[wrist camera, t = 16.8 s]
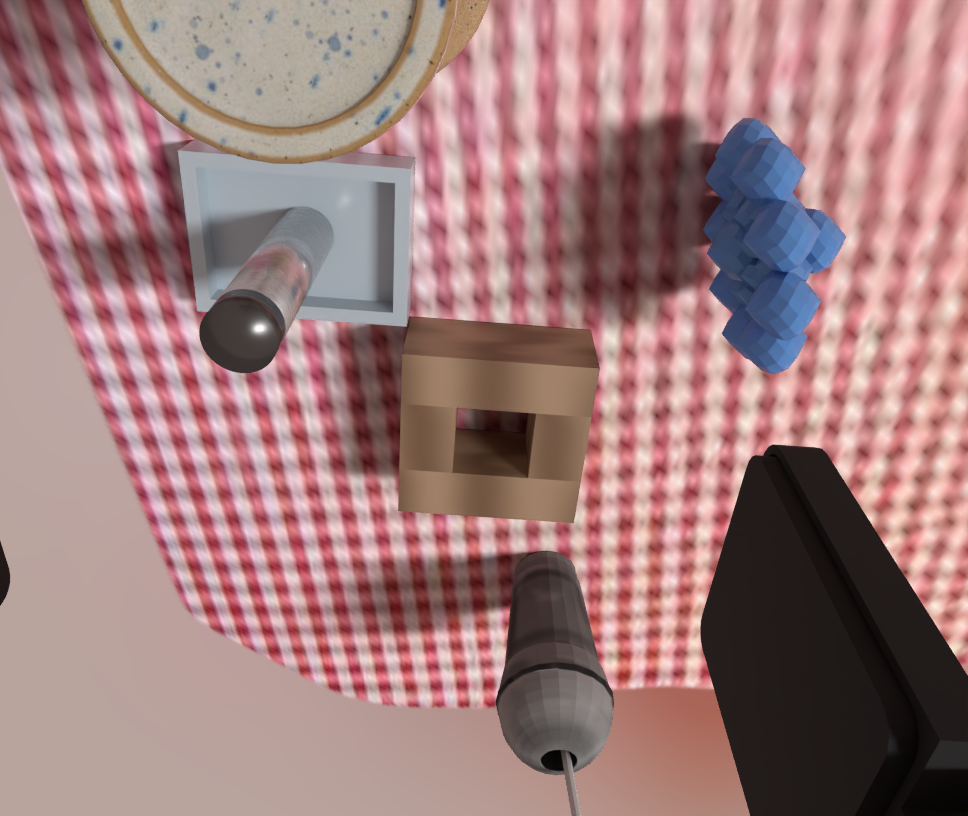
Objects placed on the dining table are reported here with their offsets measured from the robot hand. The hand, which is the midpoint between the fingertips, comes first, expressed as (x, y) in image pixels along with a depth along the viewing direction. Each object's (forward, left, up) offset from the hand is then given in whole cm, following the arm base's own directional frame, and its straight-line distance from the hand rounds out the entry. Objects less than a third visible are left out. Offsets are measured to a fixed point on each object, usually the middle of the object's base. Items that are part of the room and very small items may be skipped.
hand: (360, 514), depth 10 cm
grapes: (-16, +6, -36) cm, 40 cm away
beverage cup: (-8, +34, -36) cm, 51 cm away
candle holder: (+5, -5, -36) cm, 37 cm away
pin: (+8, +9, -35) cm, 37 cm away
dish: (+8, +9, -36) cm, 38 cm away
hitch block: (-3, +20, -36) cm, 41 cm away
